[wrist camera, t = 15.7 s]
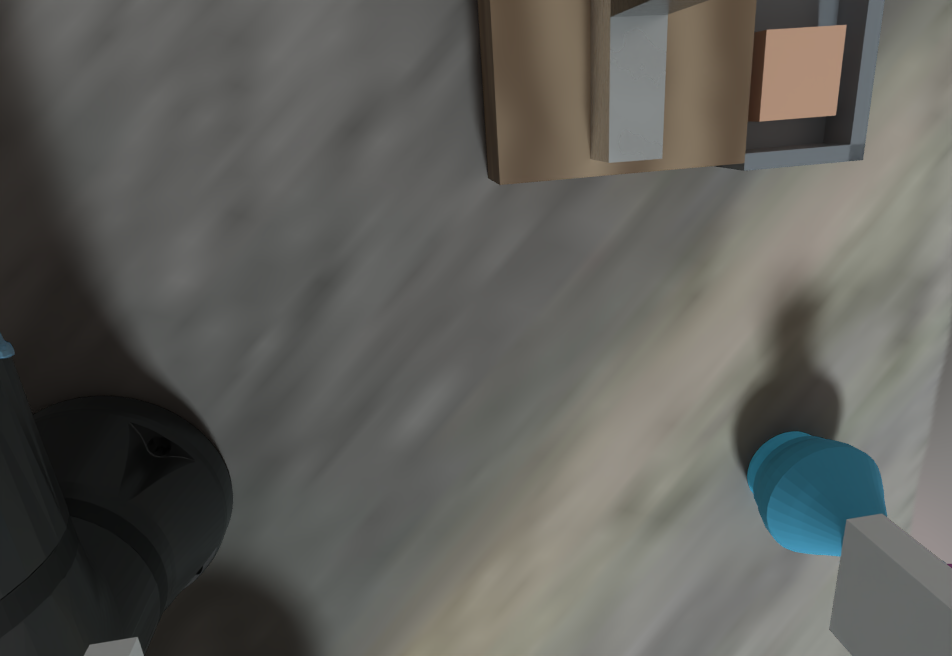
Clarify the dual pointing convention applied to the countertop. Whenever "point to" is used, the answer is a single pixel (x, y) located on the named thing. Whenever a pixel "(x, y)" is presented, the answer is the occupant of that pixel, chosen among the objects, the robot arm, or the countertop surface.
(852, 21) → the tray
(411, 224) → the countertop surface
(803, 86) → the tile
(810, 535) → the perfume bottle
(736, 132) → the board
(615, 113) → the grey bar
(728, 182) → the countertop surface
